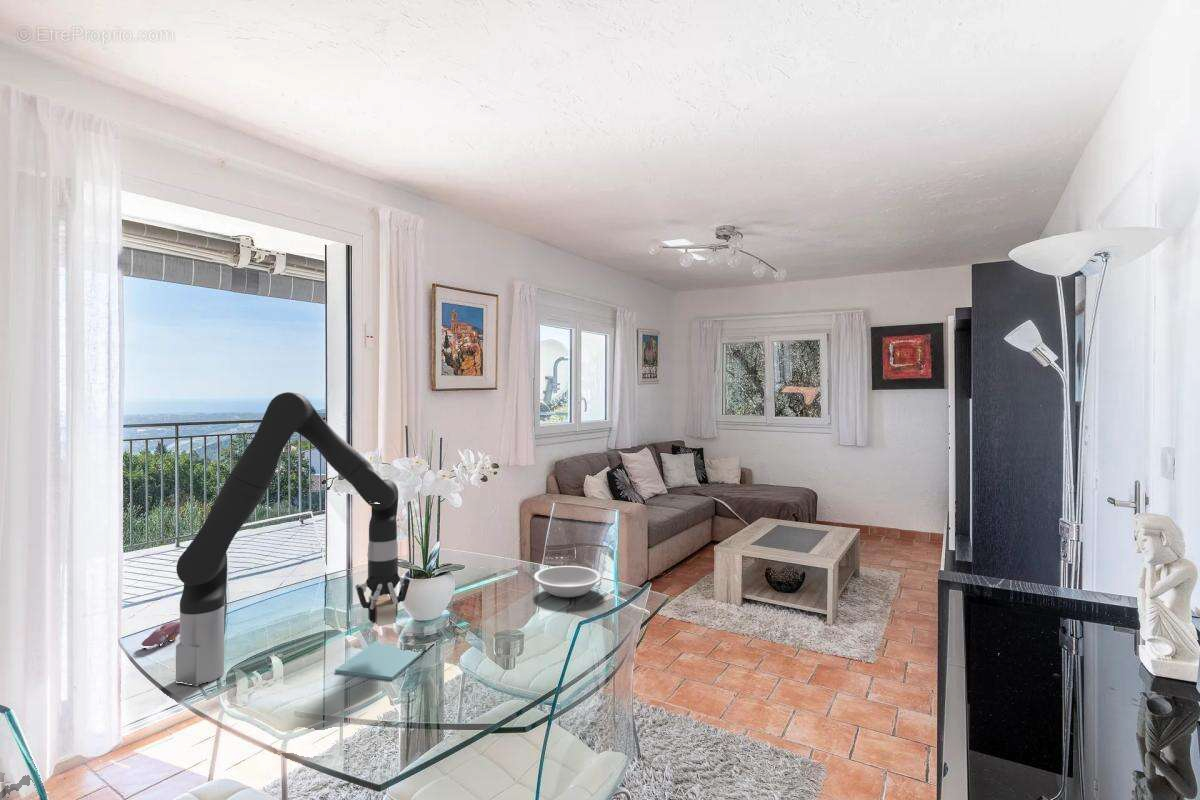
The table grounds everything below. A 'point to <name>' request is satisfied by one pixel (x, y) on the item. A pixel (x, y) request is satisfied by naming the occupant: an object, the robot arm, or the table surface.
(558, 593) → the soup bowl
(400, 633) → the table surface
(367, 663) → the board
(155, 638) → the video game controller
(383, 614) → the wooden block
